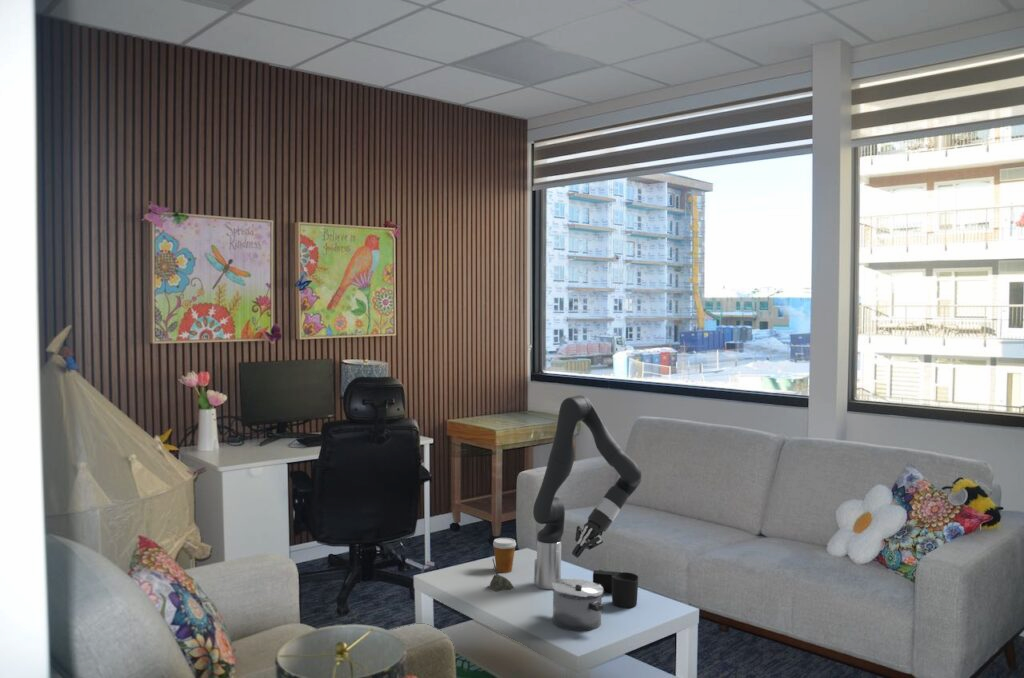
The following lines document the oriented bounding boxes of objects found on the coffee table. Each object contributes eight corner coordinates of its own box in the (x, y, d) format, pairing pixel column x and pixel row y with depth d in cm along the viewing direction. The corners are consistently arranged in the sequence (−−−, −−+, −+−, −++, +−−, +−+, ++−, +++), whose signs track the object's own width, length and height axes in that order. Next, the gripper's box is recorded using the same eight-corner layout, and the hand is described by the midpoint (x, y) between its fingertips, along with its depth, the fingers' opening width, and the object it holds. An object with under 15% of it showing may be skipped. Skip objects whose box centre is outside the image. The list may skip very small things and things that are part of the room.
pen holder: (640, 608, 275) (641, 580, 275) (614, 608, 274) (614, 580, 274) (634, 599, 284) (635, 572, 284) (608, 599, 284) (609, 572, 284)
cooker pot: (577, 606, 276) (577, 578, 276) (621, 627, 257) (622, 597, 257) (537, 615, 266) (537, 586, 266) (580, 638, 247) (580, 606, 247)
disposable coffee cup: (507, 575, 310) (507, 545, 310) (487, 571, 315) (488, 541, 315) (520, 569, 318) (520, 540, 318) (500, 565, 323) (501, 536, 323)
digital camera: (621, 589, 296) (621, 570, 296) (620, 594, 290) (621, 575, 290) (593, 587, 298) (593, 569, 298) (592, 592, 292) (593, 573, 292)
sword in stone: (506, 583, 301) (508, 552, 301) (516, 589, 294) (518, 558, 294) (483, 586, 296) (484, 555, 296) (493, 593, 289) (494, 561, 289)
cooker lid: (582, 580, 273) (583, 572, 273) (615, 594, 259) (616, 585, 259) (541, 584, 263) (542, 575, 263) (573, 599, 249) (574, 590, 249)
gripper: (586, 502, 273) (557, 543, 269) (609, 514, 262) (579, 557, 258) (598, 514, 277) (569, 554, 272) (622, 526, 266) (592, 568, 261)
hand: (574, 555), depth 265 cm, fingers closed
